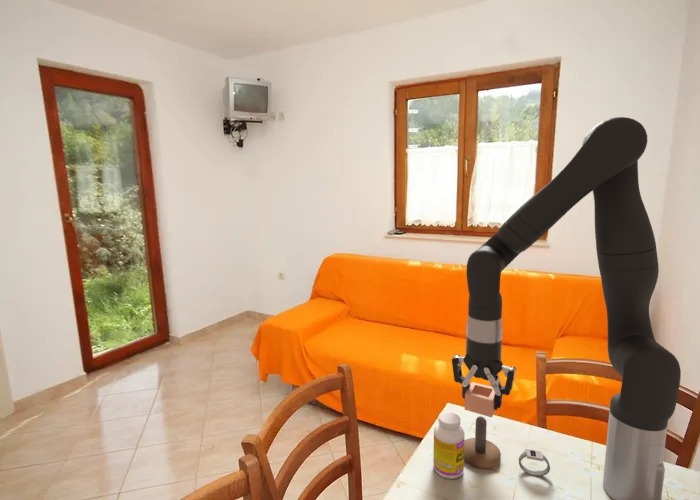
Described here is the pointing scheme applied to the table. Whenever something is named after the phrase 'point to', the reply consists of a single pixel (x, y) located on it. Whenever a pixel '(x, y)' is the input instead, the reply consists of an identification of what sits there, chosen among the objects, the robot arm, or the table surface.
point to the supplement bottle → (448, 446)
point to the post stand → (481, 449)
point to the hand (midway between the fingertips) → (481, 403)
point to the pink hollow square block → (480, 399)
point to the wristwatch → (535, 456)
